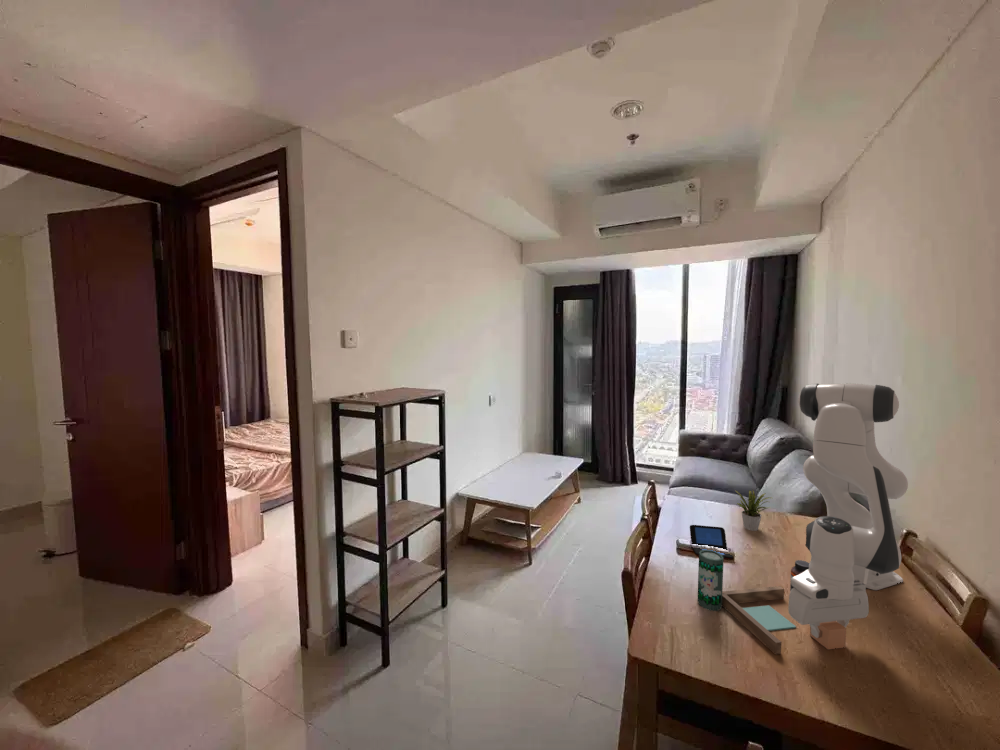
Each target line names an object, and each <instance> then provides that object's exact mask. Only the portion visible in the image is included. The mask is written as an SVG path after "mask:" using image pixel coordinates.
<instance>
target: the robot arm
mask: <svg viewBox="0 0 1000 750" xmlns="http://www.w3.org/2000/svg"><path fill="white" fill-rule="evenodd" d="M797 402H798V406H799V409H800V411H801V413H803V414H804V415H805V417H808V418H810V419H811V421H814V422H815V426H814V431H813V439H812V440H813V441H812V450H813V451H812V452H813V454H812V455H810V456H809V457H808V458H806V459H805V461H804V463H803V467H802V470H803V475H804V477H805V478H806V479H807V481H808V482H810V483H811V484H812V485H813V486H814V487H815V488H816V489H817V490H818V491H819V493H821V496H822V497H823V499H824V503H825V504H826V512H827V514H826V515H822V516H819V517H816V518H815V519H814V520H812V521H811V522H809V523H808V524H807V525H806V527H805V547H806V548H807V550H808V551H809V553H810V556H811V557H810V560H809V562H808V563H809V569H807V570H805V571H804V572H802V573H801V574H799V575H797V576H794V577H792V578H791V577H790V581H789V583H791V585H792V586H793V587H794V588H792V590H791V591H790V590H789V596H788V605H787V606H788V608H787V609H788V614H789V616H790V617H791V618H792V619H793V620H794V621H796V622H797V623H798V624H800V625H802V626H803V625H809V627H811V634H812V635H813V636H814V637H816V638H819V637H822V632H823V631H821V630H820V629H819V628H818V626H819V625H820V623H823V622H832V621H836V622H838V623H839V624H841V625H842V626H844V627H845V628H846V629H847V626H848V625H849V624H850V620H856V619H857V620H858V619H865V618H867V616H868V615H869V609H870V608H869V605H870V604H869V598H868V594H867V591H866V589H870V590H871V591H878V590H879V591H880V590H883V589H885V588H888V587H892V586H895V585H898V584H901V583H903V582H904V579H903V577H901V575H899V574H898V573H896V572H895V571H896V570H898V569H899V568H900V565H901V564H902V563H901V562H902V553H901V552H902V551H901V548H900V546H899V543H898V541H897V537H896V534H895V530H894V524H893V519H892V517H893V516H892V512H891V508H890V501H889V500H898V499H899V498H902V497H903V496H904V495H905V494H906V492H907V491H908V488H909V481H908V479H907V476H906V474H905V473H904V472H903V471H902V470H901V469H899V468H898V467H897V466H894V465H892V464H891V463H890V462H889V461H888V460H886V458H884V457H883V456H882V454H881V453H880V451H879V450H878V448H877V444H876V437H875V436H876V435H875V423H885V422H889V421H891V420H892V419H894V418H895V415H896V414H897V412H898V411H899V407H900V403H899V402H900V401H899V398H898V396H897V395H896V392H895V390H893V388H891V387H889V386H886V385H881V384H875V385H873V384H865V383H864V384H863V383H851V382H849V383H848V382H845V383H821V384H819V383H811V384H806V385H804V387H802V388H801V390H800V393H799V394H798V400H797ZM850 493H851V494H856V495H861V496H866V499H867V503H868V508H869V510H868V509H867V508H866V507H865V506H863V505H862V504H860V503H859V502H857V501H856V500H854V499H853V498H852V496H851V495H850ZM900 582H901V583H900ZM897 583H898V584H897Z"/></svg>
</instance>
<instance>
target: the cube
mask: <svg viewBox="0 0 1000 750" xmlns="http://www.w3.org/2000/svg"><path fill="white" fill-rule="evenodd" d="M809 627H810V626H809ZM818 628H819V629H820V630H821V631H823V632H822V637H819V638H816V637H814V636H813V635H812V634H811V627H810V628H809V636H810V637H812V638H813V639H814V640H815V641H816V642H818V643H819V644H820V645H821V646H823V647H824V648H826V649H827V650H835V648H836V649H844V648H846V645H847V644H846V643H847V642H846V641H847V627H846V628H845V627H844V626H842V625H841V624H839V623H838V622H837V621H832V622H823V623H820V625H819V626H818ZM843 647H844V648H843Z"/></svg>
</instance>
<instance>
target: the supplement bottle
mask: <svg viewBox="0 0 1000 750" xmlns="http://www.w3.org/2000/svg"><path fill="white" fill-rule="evenodd" d="M809 563H810V562H809V561H805V560H802V559H801V560H800V559H796V560H795V562H794V566H792V567H791V569H790V579H791V578H792V577H794V576H797V575H799V574H801V573H802V572H804V571H805V570H807V569H809ZM789 583H790V585H789V588H790V589H789V592H790V591H791V590H792V588H794V587H793V586H792V585H791V582H789Z"/></svg>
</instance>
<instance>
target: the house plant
mask: <svg viewBox="0 0 1000 750" xmlns="http://www.w3.org/2000/svg"><path fill="white" fill-rule="evenodd" d="M735 492H736V493H737V494H738V496H739V498H741V499H740V500H739V501H740V503H739V502H738V503H736V505H738V507H741V508H742V509H743V510H742V511H741V518H742V525H743V529H745V530H748V531H752V532H757V531H759V528H760V523H761V519H762V514H760V512H762V511H764V510H767V509H770V506H769V507H767V506H762V505H763V504H765V503H769V501H765V500H767V499H772V497H765V495H766V492H765V493H762V494H761V495H760V496H759V497H757V496H756V494H755V491H754V490H748V499H747V500H748V502H747V501H746V500H745V499H746V498H744V496H743V495H742V494H741V493H740V492H738V491H737V490H735ZM763 497H764V498H763ZM756 498H757V499H756ZM763 501H764V502H763ZM760 503H761V504H760Z"/></svg>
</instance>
